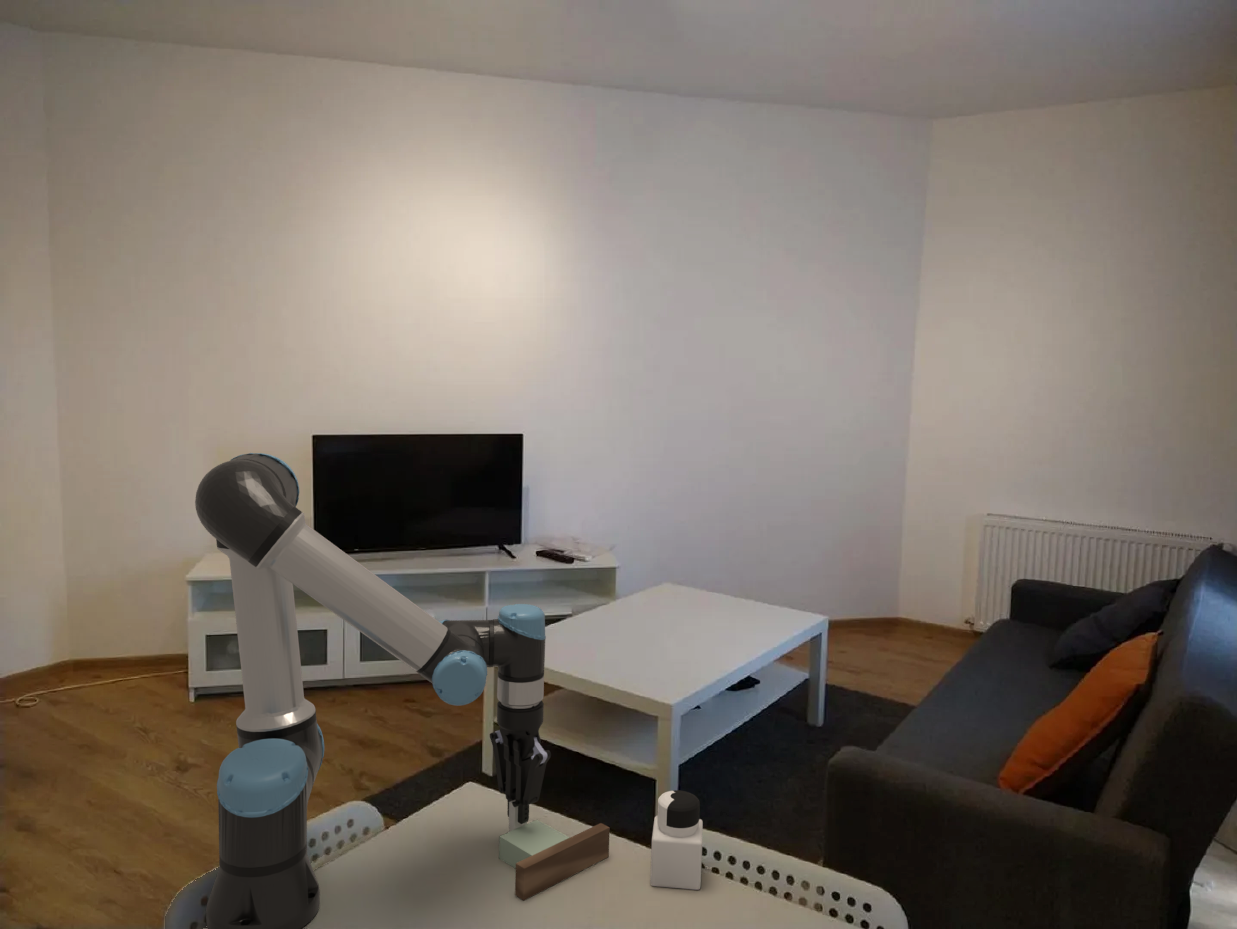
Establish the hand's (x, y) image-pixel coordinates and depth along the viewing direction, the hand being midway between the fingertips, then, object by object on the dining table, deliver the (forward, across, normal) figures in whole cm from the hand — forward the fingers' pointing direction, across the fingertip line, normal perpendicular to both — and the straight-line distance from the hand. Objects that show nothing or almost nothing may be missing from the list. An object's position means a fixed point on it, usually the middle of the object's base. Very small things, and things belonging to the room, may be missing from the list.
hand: (517, 838), depth 149 cm
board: (+1, -11, 0) cm, 11 cm away
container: (+2, -24, -13) cm, 27 cm away
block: (+2, -5, 0) cm, 5 cm away
